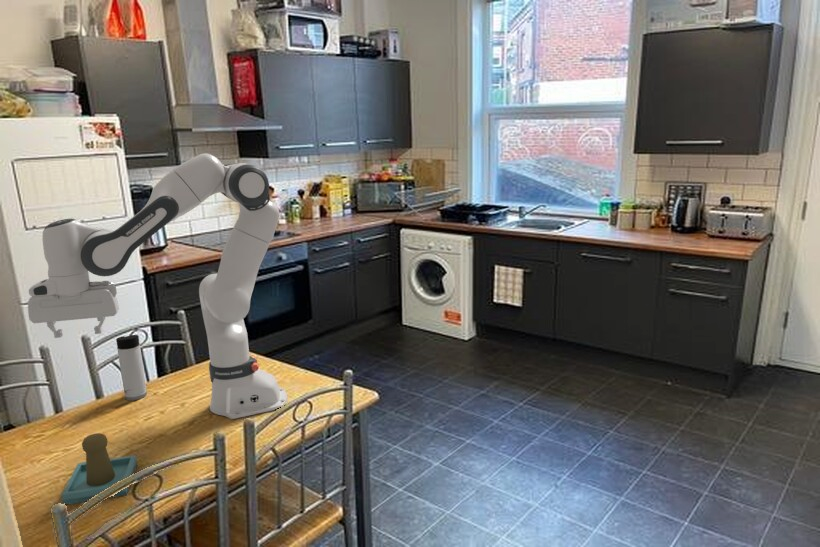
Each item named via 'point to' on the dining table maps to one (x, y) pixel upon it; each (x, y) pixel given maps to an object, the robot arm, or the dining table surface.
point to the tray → (82, 491)
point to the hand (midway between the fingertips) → (79, 335)
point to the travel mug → (131, 367)
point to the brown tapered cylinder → (97, 460)
